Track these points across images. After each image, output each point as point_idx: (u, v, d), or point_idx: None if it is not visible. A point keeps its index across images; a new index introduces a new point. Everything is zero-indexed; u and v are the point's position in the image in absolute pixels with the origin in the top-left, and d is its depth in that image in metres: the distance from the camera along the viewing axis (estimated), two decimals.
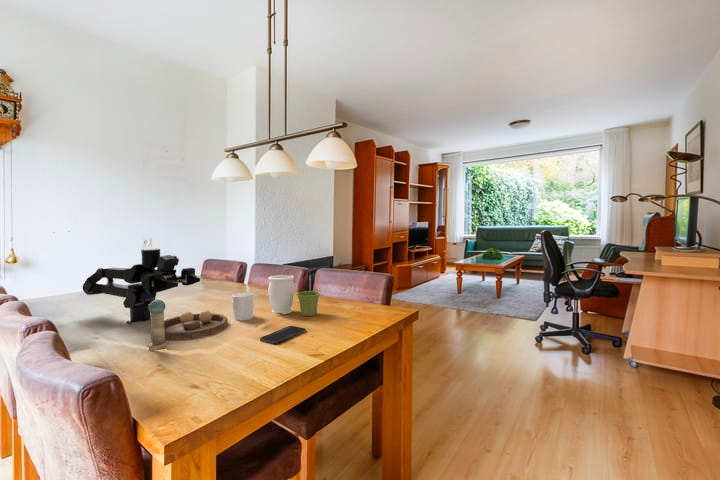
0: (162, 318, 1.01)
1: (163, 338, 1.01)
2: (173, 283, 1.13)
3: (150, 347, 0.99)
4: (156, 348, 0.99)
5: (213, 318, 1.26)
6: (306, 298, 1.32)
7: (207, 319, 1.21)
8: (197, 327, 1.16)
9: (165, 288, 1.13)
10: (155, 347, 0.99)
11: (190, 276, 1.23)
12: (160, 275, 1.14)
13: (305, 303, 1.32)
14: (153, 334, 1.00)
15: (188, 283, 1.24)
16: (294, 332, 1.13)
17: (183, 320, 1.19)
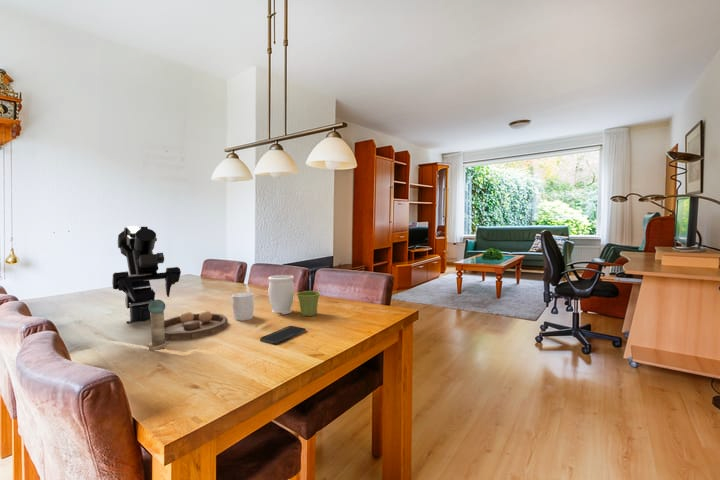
0: (162, 318, 1.01)
1: (163, 338, 1.01)
2: (132, 296, 1.04)
3: (150, 347, 0.99)
4: (156, 348, 0.99)
5: (213, 318, 1.26)
6: (306, 298, 1.32)
7: (207, 319, 1.21)
8: (197, 327, 1.16)
9: (127, 293, 1.06)
10: (155, 347, 0.99)
11: (166, 283, 1.12)
12: (128, 278, 1.05)
13: (305, 303, 1.32)
14: (153, 334, 1.00)
15: (165, 285, 1.14)
16: (294, 332, 1.13)
17: (183, 320, 1.19)
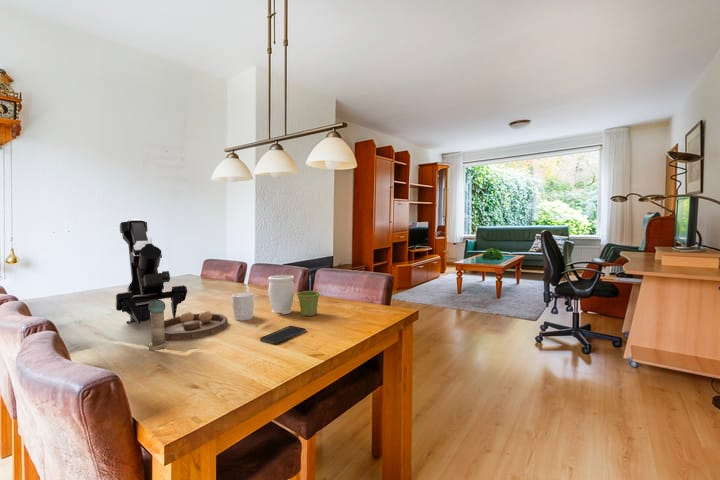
0: (162, 318, 1.01)
1: (163, 338, 1.01)
2: (136, 319, 0.98)
3: (150, 347, 0.99)
4: (156, 348, 0.99)
5: (213, 318, 1.26)
6: (306, 298, 1.32)
7: (207, 319, 1.21)
8: (197, 327, 1.16)
9: (131, 315, 1.00)
10: (155, 347, 0.99)
11: (172, 303, 1.06)
12: (132, 299, 0.99)
13: (305, 303, 1.32)
14: (153, 334, 1.00)
15: (171, 304, 1.08)
16: (294, 332, 1.13)
17: (183, 320, 1.19)
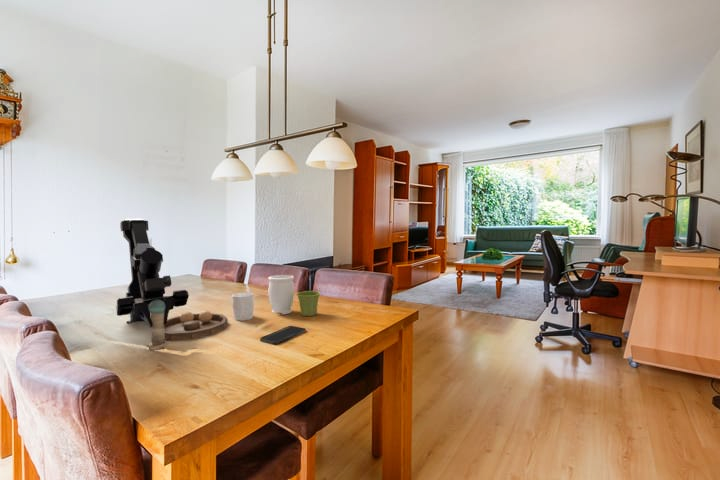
0: (162, 318, 1.01)
1: (163, 338, 1.01)
2: (148, 322, 0.99)
3: (150, 347, 0.99)
4: (156, 348, 0.99)
5: (213, 318, 1.26)
6: (306, 298, 1.32)
7: (207, 319, 1.21)
8: (197, 327, 1.16)
9: (143, 318, 1.01)
10: (155, 347, 0.99)
11: None
12: (144, 303, 1.00)
13: (305, 303, 1.32)
14: (153, 334, 1.00)
15: None
16: (294, 332, 1.13)
17: (183, 320, 1.19)
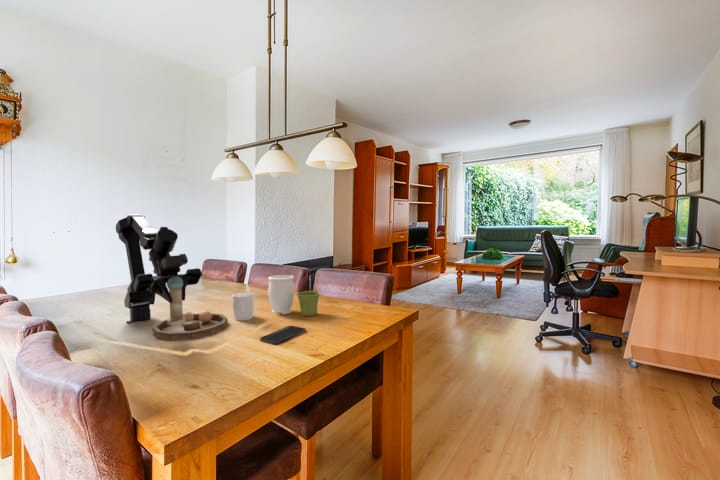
0: (181, 294, 1.04)
1: (181, 313, 1.05)
2: (168, 298, 1.02)
3: (170, 322, 1.02)
4: (176, 323, 1.03)
5: (213, 318, 1.26)
6: (306, 298, 1.32)
7: (207, 319, 1.21)
8: (197, 327, 1.16)
9: (161, 295, 1.04)
10: (175, 322, 1.03)
11: None
12: (162, 280, 1.03)
13: (305, 303, 1.32)
14: (172, 310, 1.03)
15: None
16: (294, 332, 1.13)
17: None
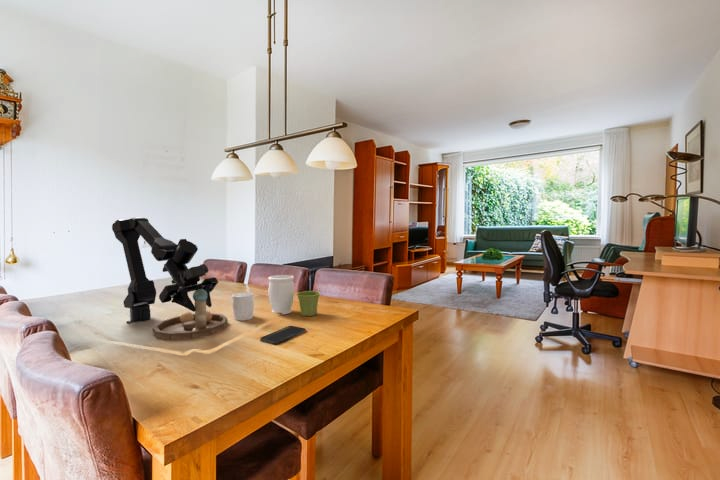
0: (205, 305, 1.11)
1: None
2: (191, 307, 1.08)
3: None
4: None
5: (213, 318, 1.26)
6: (306, 298, 1.32)
7: (207, 319, 1.21)
8: None
9: (182, 304, 1.08)
10: None
11: None
12: (185, 290, 1.08)
13: (305, 303, 1.32)
14: (199, 320, 1.10)
15: None
16: (294, 332, 1.13)
17: (183, 320, 1.19)
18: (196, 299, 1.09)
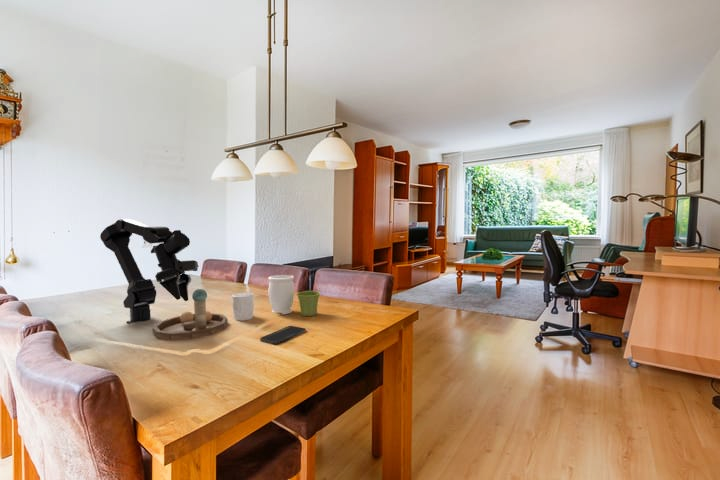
0: (205, 305, 1.12)
1: None
2: (178, 295, 1.12)
3: None
4: None
5: (213, 318, 1.26)
6: (306, 298, 1.32)
7: (207, 319, 1.21)
8: None
9: (168, 289, 1.11)
10: None
11: (184, 287, 1.22)
12: (179, 277, 1.13)
13: (305, 303, 1.32)
14: (199, 320, 1.10)
15: None
16: (294, 332, 1.13)
17: (183, 320, 1.19)
18: (196, 299, 1.09)
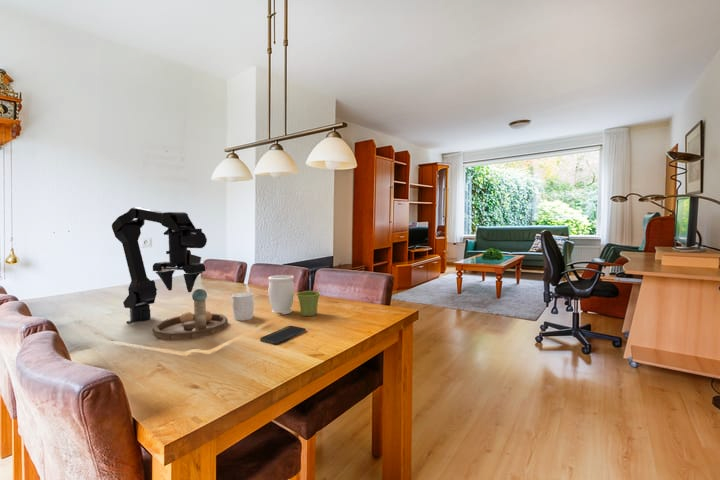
0: (205, 305, 1.12)
1: None
2: (191, 288, 1.18)
3: None
4: None
5: (213, 318, 1.26)
6: (306, 298, 1.32)
7: (207, 319, 1.21)
8: None
9: (189, 281, 1.16)
10: None
11: (170, 277, 1.22)
12: None
13: (305, 303, 1.32)
14: (198, 320, 1.10)
15: (163, 275, 1.19)
16: (294, 332, 1.13)
17: (183, 320, 1.19)
18: (195, 299, 1.09)
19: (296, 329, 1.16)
